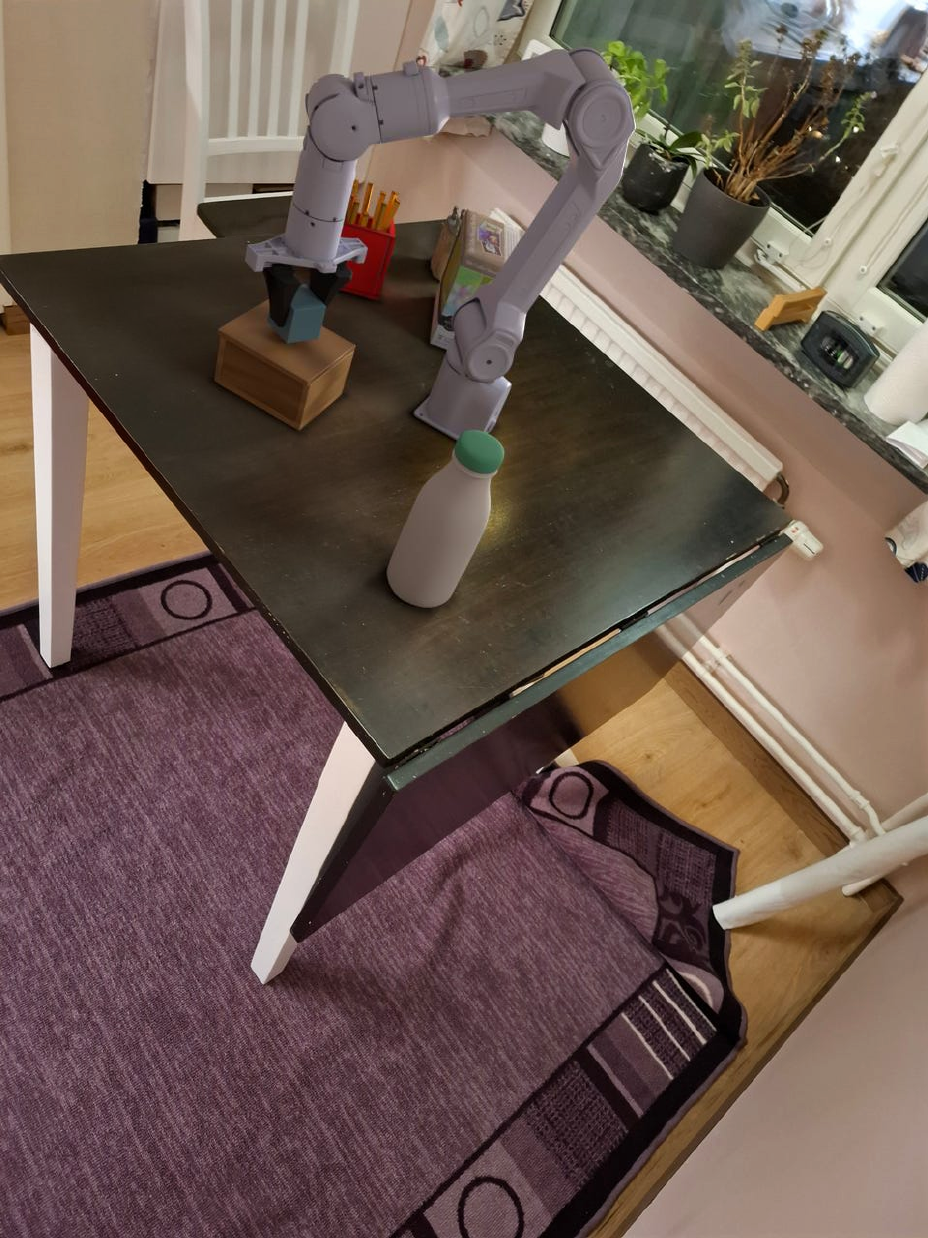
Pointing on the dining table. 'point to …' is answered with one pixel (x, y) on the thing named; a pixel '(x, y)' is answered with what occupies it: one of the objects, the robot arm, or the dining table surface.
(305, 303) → the block
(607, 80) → the robot arm
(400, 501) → the dining table surface
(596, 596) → the dining table surface
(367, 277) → the french fries container
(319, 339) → the box lid
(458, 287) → the tea box
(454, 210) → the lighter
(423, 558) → the milk bottle
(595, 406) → the dining table surface
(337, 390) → the box
